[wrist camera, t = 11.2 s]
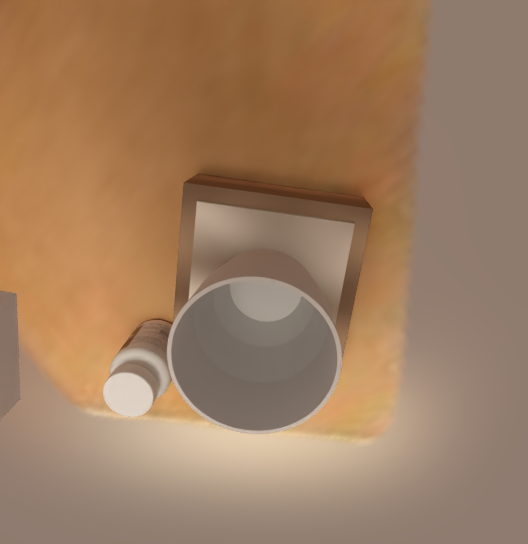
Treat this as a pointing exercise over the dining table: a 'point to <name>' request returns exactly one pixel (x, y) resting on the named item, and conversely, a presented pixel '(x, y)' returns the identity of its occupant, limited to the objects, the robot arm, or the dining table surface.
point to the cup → (256, 345)
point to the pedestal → (273, 235)
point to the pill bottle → (139, 370)
